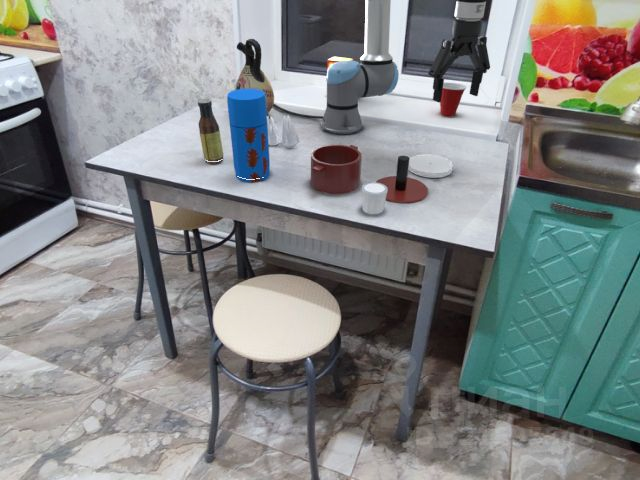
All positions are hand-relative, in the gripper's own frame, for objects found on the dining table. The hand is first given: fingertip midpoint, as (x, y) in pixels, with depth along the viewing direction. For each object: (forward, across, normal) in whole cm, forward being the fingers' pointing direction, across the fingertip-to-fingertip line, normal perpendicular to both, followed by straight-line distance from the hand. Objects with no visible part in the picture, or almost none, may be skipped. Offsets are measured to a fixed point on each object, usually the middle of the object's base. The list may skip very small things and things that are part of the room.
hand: (455, 98), depth 139 cm
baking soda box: (+22, +5, +80) cm, 83 cm away
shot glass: (+23, -34, -12) cm, 43 cm away
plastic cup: (+23, +34, +40) cm, 57 cm away
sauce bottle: (+23, -64, +37) cm, 78 cm away
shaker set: (+23, -39, +39) cm, 60 cm away
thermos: (+23, -56, +22) cm, 65 cm away
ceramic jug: (+22, -38, +70) cm, 82 cm away
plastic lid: (+23, -5, +1) cm, 23 cm away
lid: (+22, -21, -7) cm, 31 cm away
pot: (+23, -36, +6) cm, 43 cm away
